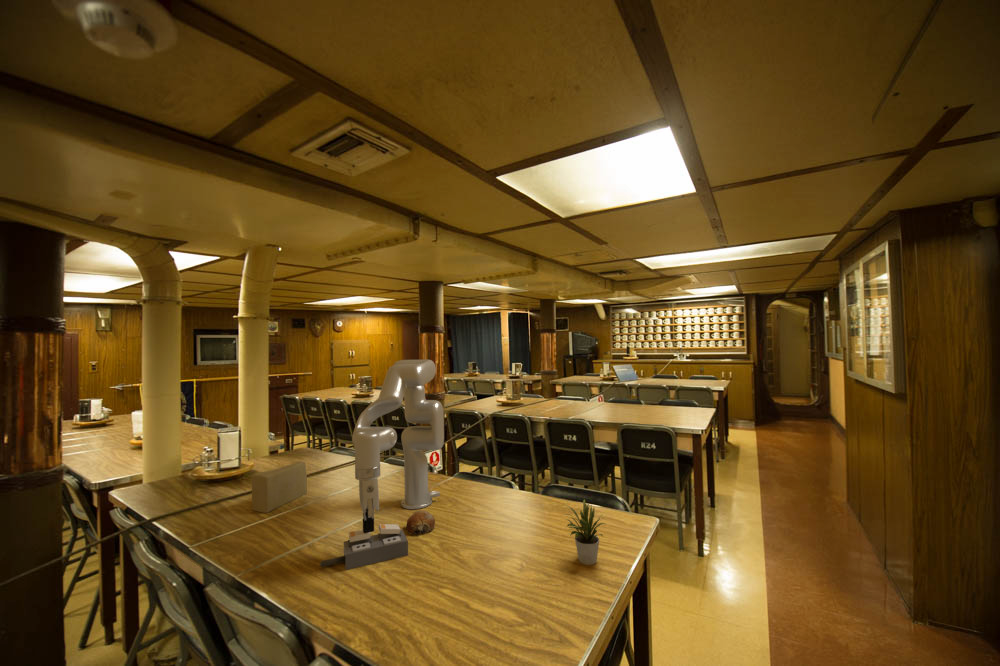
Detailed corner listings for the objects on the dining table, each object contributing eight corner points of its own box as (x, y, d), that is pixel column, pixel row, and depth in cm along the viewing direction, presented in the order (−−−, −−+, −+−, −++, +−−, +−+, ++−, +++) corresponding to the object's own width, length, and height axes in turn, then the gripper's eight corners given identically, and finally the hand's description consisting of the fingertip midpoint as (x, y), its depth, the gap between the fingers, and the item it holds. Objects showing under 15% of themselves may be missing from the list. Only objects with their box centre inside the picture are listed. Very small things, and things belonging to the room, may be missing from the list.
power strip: (402, 542, 132) (402, 527, 132) (408, 555, 123) (407, 538, 124) (319, 561, 121) (319, 544, 121) (320, 576, 113) (319, 558, 113)
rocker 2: (397, 528, 131) (398, 524, 131) (399, 533, 127) (400, 528, 127) (378, 528, 128) (379, 523, 128) (380, 533, 125) (381, 528, 125)
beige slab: (298, 492, 183) (298, 459, 184) (313, 495, 179) (313, 461, 179) (250, 510, 163) (250, 473, 164) (266, 514, 159) (266, 475, 159)
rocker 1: (369, 532, 127) (369, 528, 127) (370, 538, 123) (370, 533, 123) (348, 536, 124) (348, 531, 125) (349, 542, 121) (349, 537, 121)
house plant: (558, 546, 126) (557, 494, 127) (602, 545, 126) (601, 493, 127) (564, 571, 112) (562, 512, 113) (614, 571, 112) (612, 511, 112)
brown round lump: (437, 537, 143) (441, 513, 146) (424, 536, 134) (429, 510, 138) (413, 533, 146) (418, 510, 150) (399, 532, 137) (404, 507, 141)
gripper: (384, 476, 120) (384, 538, 120) (376, 464, 134) (377, 520, 133) (357, 480, 117) (358, 544, 116) (352, 467, 131) (353, 524, 130)
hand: (368, 531), depth 125 cm, fingers closed
